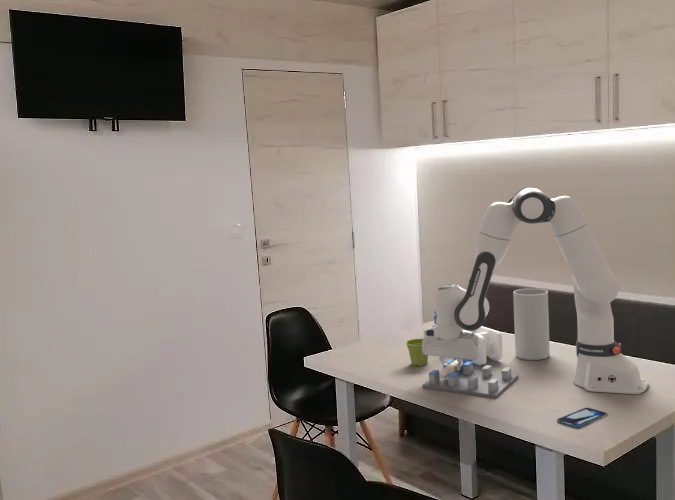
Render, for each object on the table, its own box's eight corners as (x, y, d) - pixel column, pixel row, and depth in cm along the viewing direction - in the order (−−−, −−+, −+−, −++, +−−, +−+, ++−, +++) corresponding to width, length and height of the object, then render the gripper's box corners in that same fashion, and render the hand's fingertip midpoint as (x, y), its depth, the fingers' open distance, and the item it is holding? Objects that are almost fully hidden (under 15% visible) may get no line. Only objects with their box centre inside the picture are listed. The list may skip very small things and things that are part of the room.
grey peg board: (518, 377, 231) (517, 360, 230) (496, 398, 213) (495, 380, 212) (448, 369, 245) (447, 353, 245) (422, 387, 227) (421, 370, 226)
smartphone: (609, 413, 194) (577, 426, 185) (609, 416, 194) (577, 430, 185) (586, 406, 200) (555, 419, 191) (586, 410, 200) (555, 422, 191)
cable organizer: (504, 362, 248) (503, 332, 247) (481, 368, 244) (480, 337, 243) (480, 353, 262) (478, 324, 260) (457, 358, 258) (456, 329, 256)
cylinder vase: (547, 351, 259) (545, 287, 256) (551, 360, 247) (550, 294, 244) (514, 351, 261) (512, 289, 258) (517, 361, 249) (514, 295, 246)
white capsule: (456, 365, 240) (456, 357, 240) (464, 366, 238) (464, 358, 238) (437, 378, 227) (437, 370, 226) (446, 380, 225) (445, 371, 225)
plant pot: (415, 369, 248) (413, 346, 247) (402, 363, 256) (401, 341, 255) (436, 364, 252) (435, 342, 251) (423, 358, 260) (422, 337, 259)
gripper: (481, 330, 228) (483, 370, 229) (427, 326, 239) (429, 363, 241) (474, 335, 222) (476, 375, 224) (419, 330, 234) (421, 368, 235)
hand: (451, 369), depth 232 cm, fingers closed on white capsule, 3 cm apart
